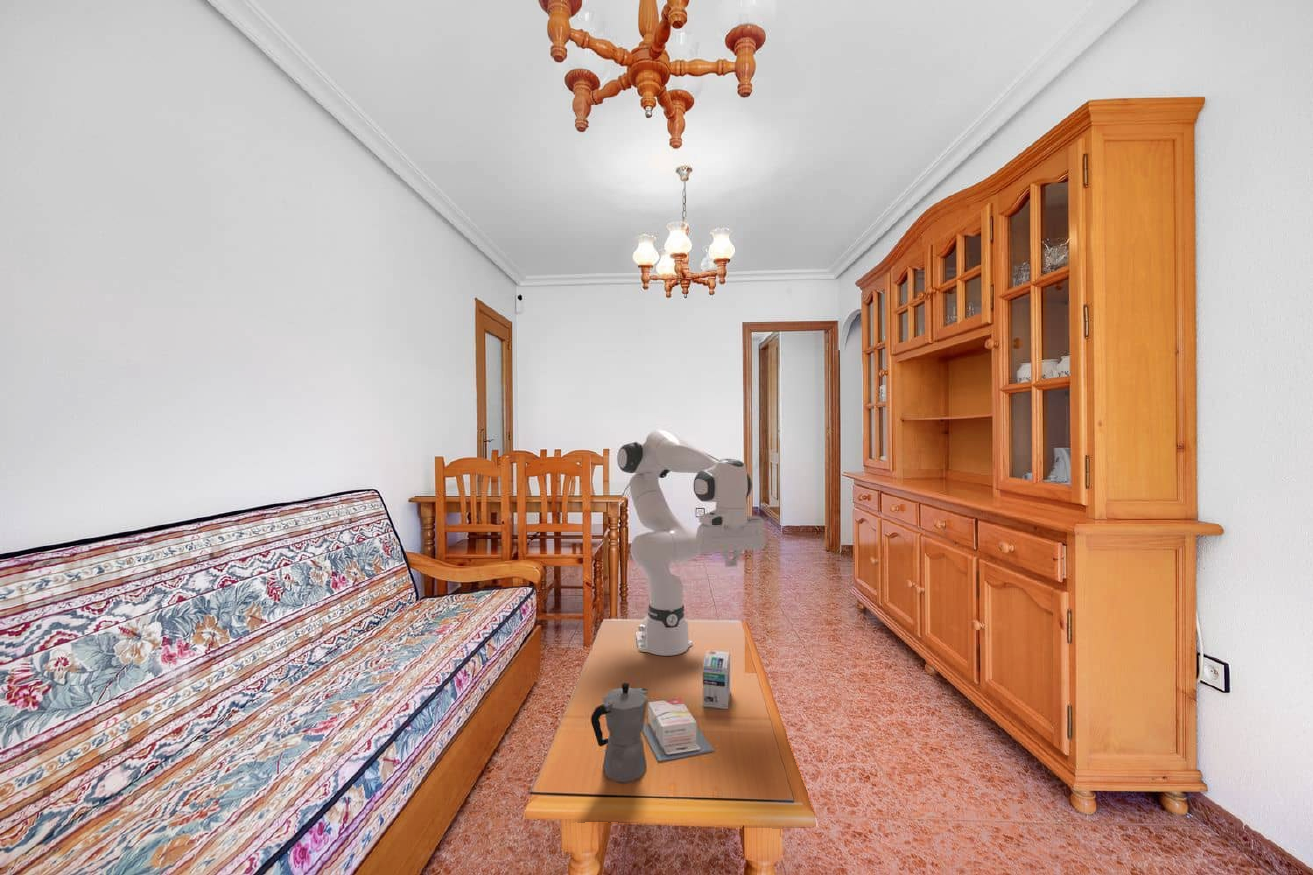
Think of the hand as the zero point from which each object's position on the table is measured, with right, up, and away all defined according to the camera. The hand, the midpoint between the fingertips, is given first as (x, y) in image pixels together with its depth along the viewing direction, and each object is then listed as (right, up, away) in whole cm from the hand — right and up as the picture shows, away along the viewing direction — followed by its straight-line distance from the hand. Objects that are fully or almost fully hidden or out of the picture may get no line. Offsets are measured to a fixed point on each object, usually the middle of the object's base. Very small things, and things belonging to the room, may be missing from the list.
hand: (731, 566), depth 144 cm
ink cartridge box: (-19, -31, -17) cm, 40 cm away
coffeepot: (-28, -34, -37) cm, 57 cm away
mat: (-16, -34, -25) cm, 45 cm away
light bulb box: (-5, -34, -6) cm, 35 cm away
